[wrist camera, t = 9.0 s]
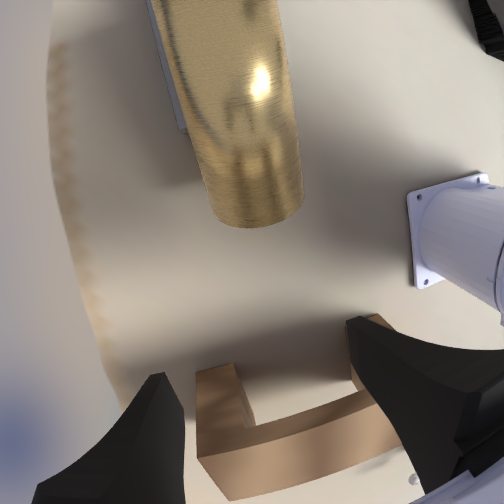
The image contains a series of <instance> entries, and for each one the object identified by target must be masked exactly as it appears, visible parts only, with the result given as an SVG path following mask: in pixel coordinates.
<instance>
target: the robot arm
mask: <svg viewBox="0 0 504 504" xmlns="http://www.w3.org/2000/svg"><path fill="white" fill-rule="evenodd" d="M418 195H419V199H418V200H417V196H418ZM407 206H408V214H409V222H410V231H411V241H412V253H413V267H414V285H415V287H416V288H417V289H419V290H420V289H423V288H426V287H428V286H430V285H432V284H435V283H437V282H439V281H441V280H443V279H447V280H449V281H450V282H452V283H454V284H455V285H457V286H459V287H460V288H462V289H464V290H465V291H467V292H469V293H470V294H472V295H474V296H475V297H477V298H478V299H480V300H482V301H483V302H485V303H487V304H488V305H490V306H491V307H493V308H495V309H496V310H498V311H499V312H501V325H502V326H504V187H500V186H495V185H490V184H489V182H488V175H487V174H486V173H478V174H475V175H471V176H467V177H463V178H460V179H456V180H452V181H449V182H445V183H441V184H438V185H434V186H430V187H427V188H423V189H420V190H416V191H412V192H410V193H409V194H408V195H407ZM425 280H426V281H425ZM424 281H425V283H424ZM346 326H347V335H348V344H349V354H350V362H351V364H352V366H353V368H354V369H355V371H356V373H357V375H358V377H359V379H360V381H361V382H362V383H363V385H364V386H365V388H366V389H367V390H368V392H369V393H370V394H371V396H372V397H373V399H374V400H375V401H376V403H377V404H378V405H379V407H380V408H381V409H382V411H383V412H384V414H385V415H386V416H387V418H388V419H389V421H390V422H391V424H392V426H393V427H394V429H395V431H396V433H397V435H398V437H399V438H400V440H401V442H402V444H403V446H404V448H405V450H406V452H407V454H408V456H409V458H410V460H411V462H412V465H413V467H414V469H415V471H416V473H417V476H418V478H419V480H420V483H421V485H422V488H423V490H424V493H425V496H423V497H421V498H419V499H417V500H415V501H413V502H411V503H409V504H504V349H502V350H471V349H461V348H453V347H447V346H442V345H437V344H433V343H429V342H425V341H422V340H419V339H416V338H413V337H410V336H407V335H404V334H401V333H399V332H396V331H394V330H392V329H389V328H387V327H384V326H382V325H380V324H378V323H375V322H373V321H371V320H369V319H366V318H364V317H361V316H358V317H356V318H353V319H350V320H347V321H346ZM184 449H185V421H184V411H183V407H182V405H181V403H180V401H179V399H178V398H177V396H176V394H175V392H174V390H173V388H172V386H171V384H170V382H169V380H168V378H167V376H166V374H165V372H162V373H158V374H153V375H150V376H149V377H148V379H147V380H146V381H145V383H144V384H143V386H142V387H141V389H140V390H139V392H138V393H137V395H136V396H135V398H134V399H133V400H132V402H131V403H130V405H129V406H128V408H127V409H126V410H125V412H124V413H123V414H122V415H121V417H120V418H119V420H118V421H117V422H116V423H115V424H114V426H113V427H112V428H111V429H110V430H109V432H108V433H107V434H106V435H105V436H104V437H103V438H102V439H101V440H100V441H99V442H98V443H97V444H96V445H95V446H94V447H93V448H91V449H90V450H89V451H88V452H87V453H86V454H84V455H83V456H82V457H81V458H80V459H78V460H77V461H76V462H74V463H73V464H72V465H70V466H69V467H67V468H66V469H64V470H63V471H61V472H59V473H58V474H56V475H54V476H52V477H51V478H49V479H47V480H45V481H43V482H41V483H39V484H38V485H37V488H36V491H35V494H34V497H33V500H32V503H31V504H186V502H185V493H184V479H183V473H184Z"/></svg>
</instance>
